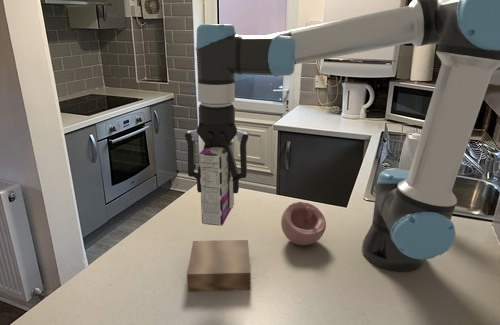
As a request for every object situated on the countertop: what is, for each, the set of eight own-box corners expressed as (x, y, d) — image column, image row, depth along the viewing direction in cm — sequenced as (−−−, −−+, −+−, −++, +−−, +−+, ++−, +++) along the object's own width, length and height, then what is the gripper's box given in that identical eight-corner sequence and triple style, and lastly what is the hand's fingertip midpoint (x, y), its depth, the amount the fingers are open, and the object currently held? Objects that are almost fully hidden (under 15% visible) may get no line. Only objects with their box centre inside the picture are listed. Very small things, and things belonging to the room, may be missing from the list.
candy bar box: (214, 202, 93) (213, 137, 87) (234, 204, 92) (235, 139, 86) (200, 224, 82) (198, 152, 77) (222, 227, 82) (222, 154, 76)
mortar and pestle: (296, 258, 98) (298, 218, 94) (272, 237, 108) (273, 200, 104) (333, 247, 103) (336, 209, 99) (307, 227, 113) (309, 192, 110)
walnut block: (247, 256, 99) (248, 239, 98) (250, 291, 86) (250, 272, 85) (194, 257, 99) (193, 240, 97) (188, 293, 86) (187, 274, 84)
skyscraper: (405, 221, 118) (419, 134, 109) (386, 210, 125) (398, 127, 116) (425, 216, 121) (440, 131, 112) (405, 206, 128) (418, 125, 119)
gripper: (261, 100, 82) (259, 199, 90) (176, 99, 83) (181, 197, 90) (260, 107, 75) (258, 214, 83) (167, 105, 76) (174, 211, 83)
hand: (218, 205), depth 86 cm, fingers closed on candy bar box, 5 cm apart
